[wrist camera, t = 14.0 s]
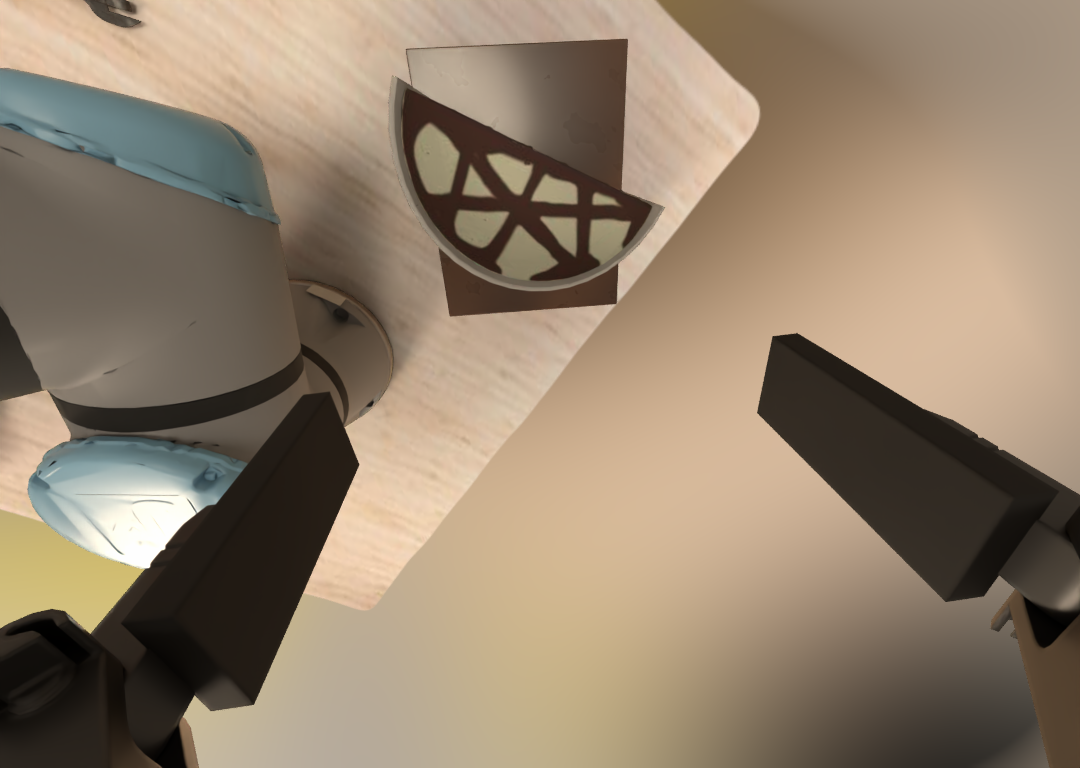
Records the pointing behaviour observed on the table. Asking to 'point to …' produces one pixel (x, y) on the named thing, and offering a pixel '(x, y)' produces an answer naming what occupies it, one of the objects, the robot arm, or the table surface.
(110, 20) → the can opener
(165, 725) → the robot arm
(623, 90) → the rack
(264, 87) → the table surface
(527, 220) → the food container
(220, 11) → the table surface
